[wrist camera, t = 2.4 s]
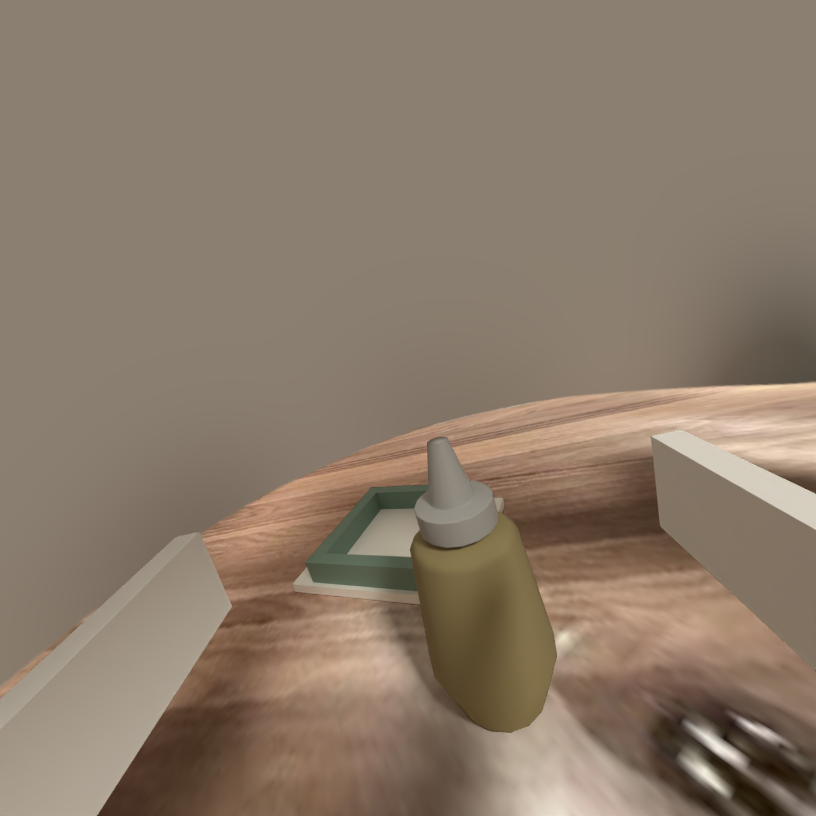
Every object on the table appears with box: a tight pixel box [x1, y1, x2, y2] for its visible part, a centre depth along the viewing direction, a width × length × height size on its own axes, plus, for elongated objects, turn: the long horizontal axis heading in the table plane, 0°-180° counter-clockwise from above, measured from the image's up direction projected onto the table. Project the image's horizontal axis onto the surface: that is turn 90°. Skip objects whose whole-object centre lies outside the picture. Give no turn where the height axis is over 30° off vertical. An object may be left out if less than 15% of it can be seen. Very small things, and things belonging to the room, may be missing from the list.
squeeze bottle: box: [410, 437, 557, 732], centre depth 23 cm, size 8×8×18 cm
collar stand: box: [292, 485, 504, 605], centre depth 42 cm, size 20×16×4 cm
